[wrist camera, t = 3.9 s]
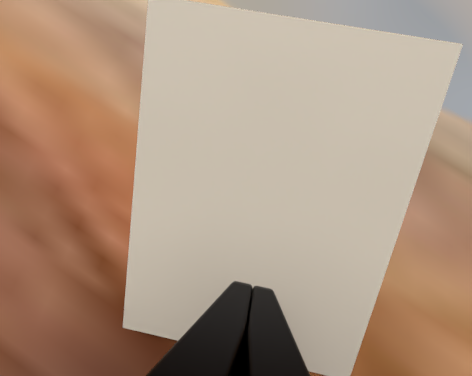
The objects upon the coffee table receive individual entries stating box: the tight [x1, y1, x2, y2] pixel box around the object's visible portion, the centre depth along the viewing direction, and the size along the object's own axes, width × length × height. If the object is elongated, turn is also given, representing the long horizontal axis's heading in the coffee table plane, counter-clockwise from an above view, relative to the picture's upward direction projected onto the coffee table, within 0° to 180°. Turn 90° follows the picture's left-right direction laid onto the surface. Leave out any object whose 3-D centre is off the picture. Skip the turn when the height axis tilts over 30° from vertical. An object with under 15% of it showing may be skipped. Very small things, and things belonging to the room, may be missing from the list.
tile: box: [123, 0, 463, 376], centre depth 13 cm, size 2×9×12 cm
